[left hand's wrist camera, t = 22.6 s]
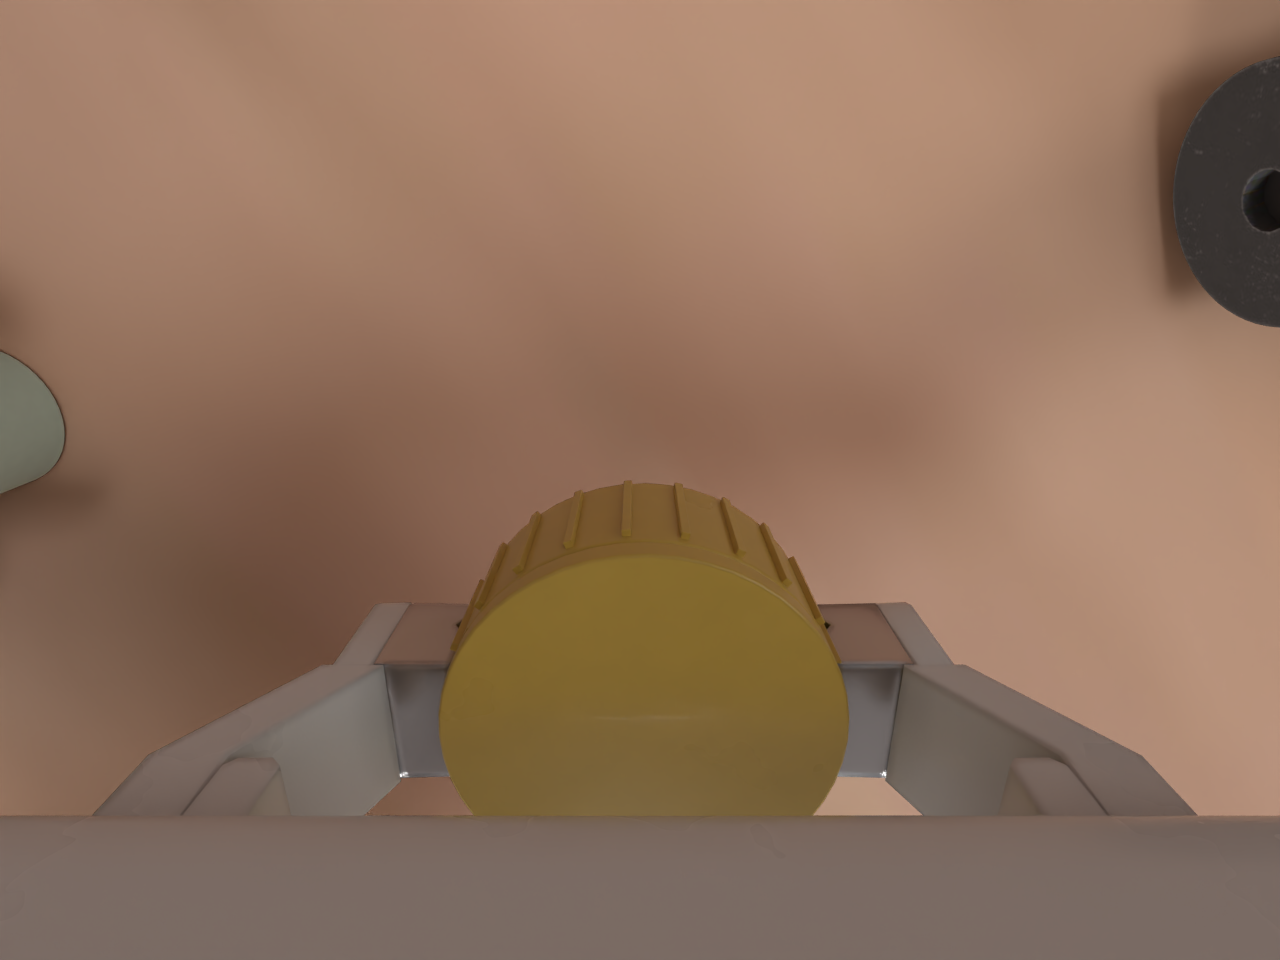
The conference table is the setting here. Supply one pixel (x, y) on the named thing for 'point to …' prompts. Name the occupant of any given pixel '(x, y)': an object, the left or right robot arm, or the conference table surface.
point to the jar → (26, 425)
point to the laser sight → (1234, 194)
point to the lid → (643, 667)
